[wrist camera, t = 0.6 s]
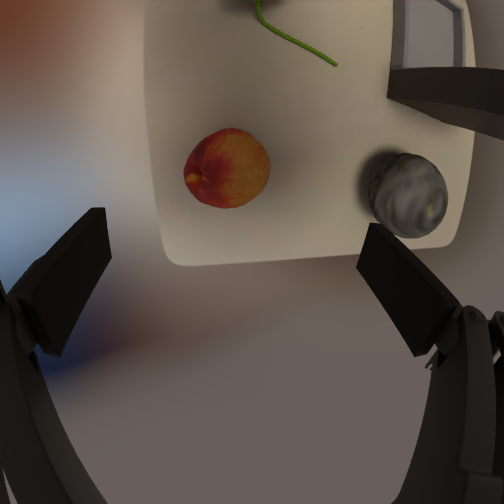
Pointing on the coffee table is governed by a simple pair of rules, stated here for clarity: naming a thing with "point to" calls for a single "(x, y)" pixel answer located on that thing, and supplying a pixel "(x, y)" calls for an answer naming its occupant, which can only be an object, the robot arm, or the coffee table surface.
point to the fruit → (227, 169)
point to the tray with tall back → (442, 68)
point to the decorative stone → (408, 195)
